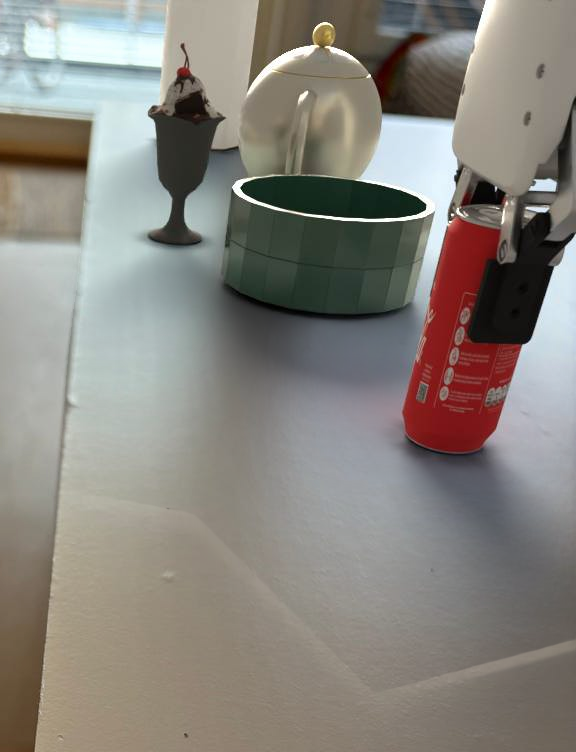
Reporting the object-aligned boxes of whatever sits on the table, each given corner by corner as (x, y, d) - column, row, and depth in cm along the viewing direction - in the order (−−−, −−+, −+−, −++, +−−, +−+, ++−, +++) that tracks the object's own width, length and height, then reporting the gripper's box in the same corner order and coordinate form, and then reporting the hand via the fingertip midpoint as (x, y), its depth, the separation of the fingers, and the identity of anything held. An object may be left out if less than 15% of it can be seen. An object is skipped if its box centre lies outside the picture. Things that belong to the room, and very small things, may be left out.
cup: (206, 133, 134) (223, -30, 123) (257, 148, 126) (281, -24, 115) (139, 136, 129) (151, -33, 118) (188, 153, 121) (206, -26, 110)
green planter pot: (382, 265, 85) (401, 178, 80) (437, 324, 73) (464, 225, 68) (209, 258, 84) (220, 169, 80) (236, 316, 72) (250, 215, 67)
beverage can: (437, 462, 53) (502, 232, 46) (379, 424, 57) (431, 205, 50) (510, 449, 55) (583, 225, 48) (449, 412, 59) (509, 200, 51)
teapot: (240, 190, 106) (264, 11, 96) (367, 205, 103) (404, 23, 93) (209, 228, 92) (233, 24, 82) (354, 247, 89) (397, 38, 79)
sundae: (162, 223, 92) (178, 39, 83) (224, 237, 89) (247, 47, 81) (124, 236, 88) (136, 43, 79) (187, 251, 85) (208, 52, 76)
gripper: (807, -103, 34) (618, 386, 45) (592, -101, 48) (487, 275, 59) (602, -115, 34) (461, 382, 45) (444, -109, 48) (366, 271, 58)
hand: (477, 318), depth 52 cm, fingers closed on beverage can, 5 cm apart
